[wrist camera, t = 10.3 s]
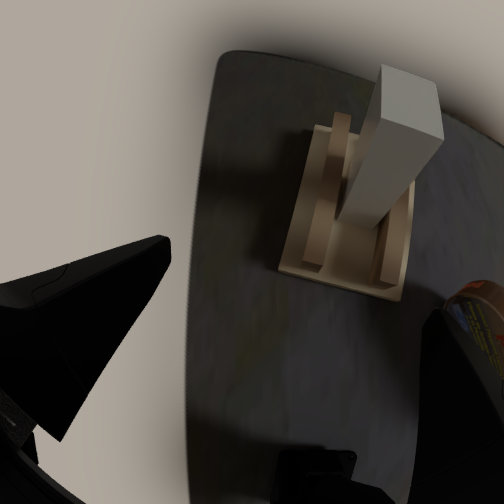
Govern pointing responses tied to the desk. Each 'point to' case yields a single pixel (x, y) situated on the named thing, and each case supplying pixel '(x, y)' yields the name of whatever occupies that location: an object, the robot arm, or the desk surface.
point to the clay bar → (391, 145)
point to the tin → (482, 318)
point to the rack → (344, 225)
